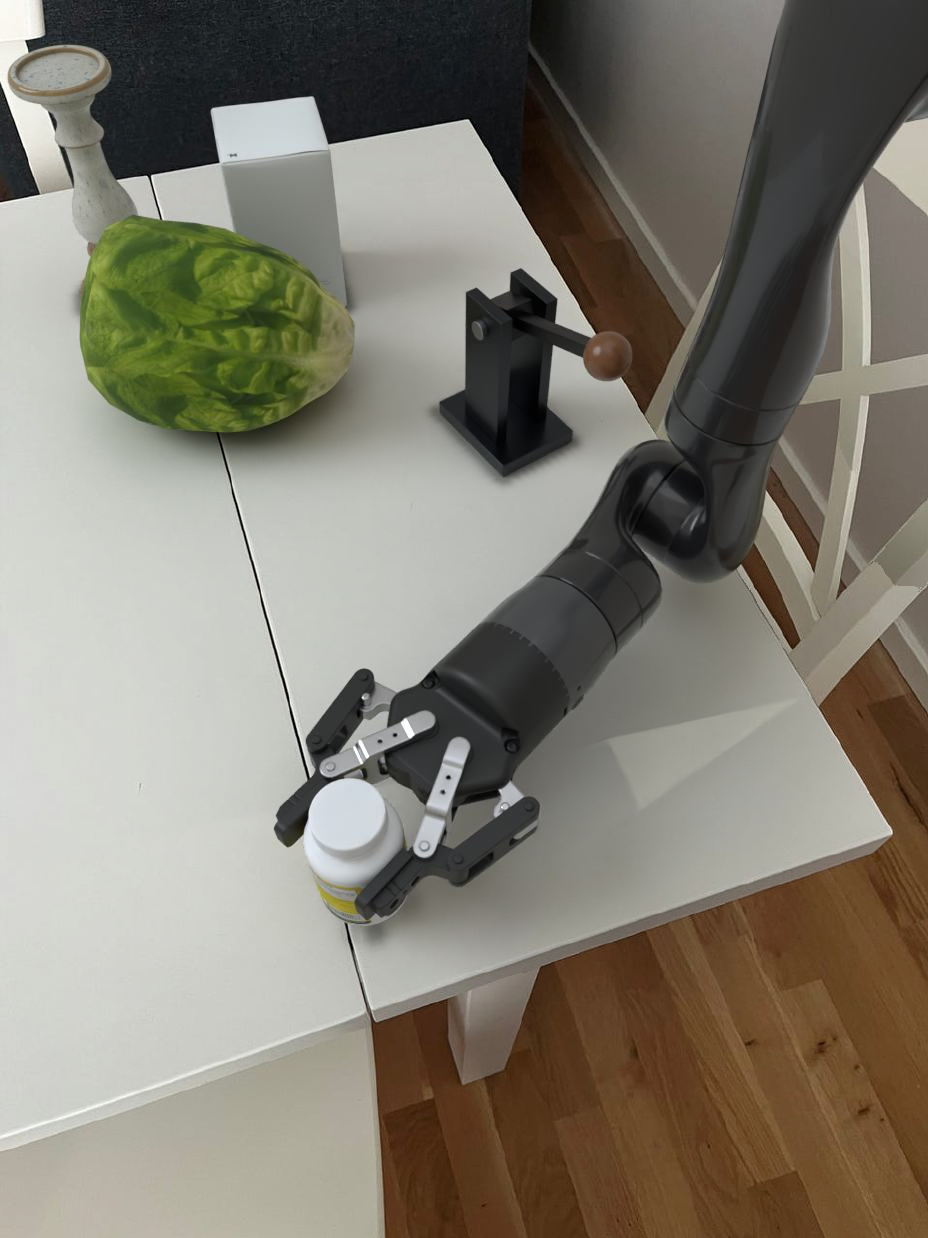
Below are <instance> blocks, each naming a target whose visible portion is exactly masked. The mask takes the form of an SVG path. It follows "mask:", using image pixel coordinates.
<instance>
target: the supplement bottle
mask: <svg viewBox="0 0 928 1238" xmlns="http://www.w3.org/2000/svg"><path fill="white" fill-rule="evenodd" d="M401 819H402V818H401V817H400V815H399V813H398V811H397V810H396V808H395V806H394V805H393V804H392V803H391V802H390V801H389V800H388V799H386V798H385V797H383V795H382V793H381V792H380V791H379V789H377V787H375V786H374V784H370V783H368V782H366V781H363V780H360V779H353V778H347V779H340V780H337V781H334V782H332V783H330V784H328V785H326V786H325V787H324V788H322V789H321V790H320V791H319V792H318V794H317V795H316V796H315V798H314V799H313V801H312V803H311V806H310V809H309V817H308V821H307V823H306V826H305V829H304V835H303V836H302V845H303V852H304V855H305V858H306V861H307V864H308V866H309V868H310V871H311V874H312V877H313V879H314V882H315V884H316V887H317V890H318V893H319V895H320V897H321V899H322V901H323V903H324V905H325V907H326V909H328V912H330V913H331V914H332V915H333V916H334V917H335V918H337V919H338V920H340V922H341V921H342V922H343V923H345V924H348V925H352V926H357V927H369V926H375V925H378V924H380V923H383V922H385V921H387V920H389V919H390V918H392V917H393V916H394V915H395V914H396V913H398V911H400V909H401V908H402V907H403V905H404V904H405V902H406V901H407V898H408V896H409V894H408V895H407V896H406V897H405V898H404V899H403V900H402V901H401V902H400V904H398V906H397V907H396V908H395V909H394V910H393V911H392V912H391V913H390V914H388V915H386V916H384V917H382V918H380V917H379V916H378V915H377V914H375V915H374V916H373V917H372V918H370V919H369V920H365V919H364V918H363V917H362V916H361V915H360V914H359V913H358V912H357V911H356V908H355V905H354V901H355V899H356V897H357V896H358V894H359V893H360V892H361V891H362V890H363V889H364V888H365V887H366V886H367V885H368V884H369V883H370V882H371V881H372V880H373V879H374V878H375V876H376V875H377V874H378V873H379V872H380V871H381V870H382V869H383V868H384V867H385V866H386V865H387V864H388V863H389V862H390V861H391V860H392V859H393V858H394V857H395V855H396V854H397V853H398V852H399V851H400V850H401V849H402V848H403V847H404V848H405V849H406V850H407V851H408V848H407V842H406V836H405V829H404V826H403V822H402V820H401Z"/></svg>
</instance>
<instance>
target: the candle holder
mask: <svg viewBox="0 0 928 1238" xmlns="http://www.w3.org/2000/svg"><path fill="white" fill-rule="evenodd" d="M112 75H113V70H112V67H111V63H110V62H109V60H108V59H107V57H106V56H105V55H104V54H103V53H102V52H100V50H97V49H95V48H93V47H89V46H85V45H78V44H58V45H50V46H45V47H42V48H37V49H35V50H31V51H30V52H27V53H25V54H23V55H21V56H19V58H17V59H15V60H14V61H13V62H12V63H11V65H10V67H8V71H7V84H8V87H9V90H10V91H11V92H12V93H13V95H14V96H15V97H17V98H19V99H20V100H22V101H25V102H27V103H32V104H35V105H36V104H37V105H40V107H41V108H43V109H44V110H45V111H47V112H49V113H50V114H51V115H53V117H54V119H55V120H56V128H55V132H54V135H53V136H54V141H55V143H56V144H57V145H58V146H60V147H62V148H63V149H64V150H65V152H66V154H67V157H68V162H69V165H70V168H71V172H72V176H73V177H72V178H73V193H72V198H71V199H72V200H71V218H72V223H73V226H74V228H75V230H76V231H77V233H78V234H79V235H80V236H81V237H82V238H83V239H84V240H85V241H87V242H88V243H87V246H86V251H87V252H86V253H87V254H88V257H89V258H90V257H91V255H92V253H93V251H94V249H95V247H96V246H97V244H98V242H99V240H100V238H101V236H102V234H103V232H104V230H105V228H106V227H108V226H110V225H112V224H114V223H117V222H119V221H121V220H123V219H125V218H127V217H129V216H131V215H138V216H139V211H138V207H137V206H136V203H135V202H134V200H133V198H132V197H131V195H130V193H128V191H126V189H125V188H124V187H123V186H122V185H121V184H120V183H119V181H118V180H117V179H116V177H115V176H114V174H113V173H112V171H111V169H110V167H109V165H108V162H107V160H106V157H105V154H104V151H103V148H102V143H101V140H102V139H103V138H104V135H105V130H104V128H103V127H102V125H100V124H99V123H98V122H97V121H96V120H95V119H94V118H93V116H92V114H91V106H92V104H93V102H94V101H95V98H96V94H98V93H99V92H101V91H103V90H104V89H105V88H106V87H108V84H109V83H110V82H111V80H112ZM84 281H85V278H84V279H83V280H82V281H81V284H80V286H79V289H78V296H79V300H80V301H81V297H82V292H83V286H84Z"/></svg>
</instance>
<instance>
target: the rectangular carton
mask: <svg viewBox="0 0 928 1238" xmlns="http://www.w3.org/2000/svg"><path fill="white" fill-rule="evenodd" d="M210 115H211V121H212V127H213V132H214V138H215V144H216V150H217V157H218V161H219V167H220V172H221V178H222V181H223V182H222V183H223V186H224V192H225V196H226V200H227V207H228V211H229V216H230V222H231V226H232V232H234V233H236V234H239V235H241V236H243V237H245V238H248V239H250V240H252V241H255V242H257V243H260V244H263V245H266V246H268V247H271V248H274V249H276V250H278V251H280V252H282V253H284V254H286V255H288V256H290V257H292V258H294V259H295V260H296V261H298V262H299V263H300V264H302V265H303V266H304V267H306V268H307V269H308V270H310V271H311V272H312V274H313V275H314V276H315V277H316V278H317V280H318V281H319V282H320V283H321V284H322V286H323V287H324V288H325V289H326V290H328V291H329V292H330V293H331V294H332V295H333V296H335V297H336V298H337V299H338V300H339V301H340V302H341V303H342V304H343V305H344V307H345V308H346V307H347V306H348V299H347V291H346V281H345V274H344V265H343V264H344V263H343V256H342V255H343V254H342V246H341V236H340V227H339V218H338V209H337V199H336V189H335V180H334V171H333V162H332V154H331V149H330V145H329V142H328V139H327V136H326V132H325V129H324V126H323V122H322V119H321V116H320V112H319V109H318V106H317V103H316V100H315V97H314V96H303V97H301V96H300V97H293V98H285V99H279V100H272V101H271V100H270V101H263V102H255V103H254V102H253V103H243V104H242V103H241V104H234V105H225V106H217V107H212V108H211V110H210Z"/></svg>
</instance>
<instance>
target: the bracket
mask: <svg viewBox="0 0 928 1238" xmlns="http://www.w3.org/2000/svg"><path fill="white" fill-rule="evenodd" d="M509 274H510V276H509V291H511V292H514V293H516V294H519V295H521V296H524V297H526V298H529V299H531V300H532V308H533V314H534V315H536V316H539V317H541V318H543V319H546V320H548V321H551V322H553V323H556V320H557V311H558V301H559V299H558V297H557V296H555V295H554V294H553V293H552V292H551V291H549V290H548V289H547V288H546V287H545V286H544V285H542V284H541V283H540V282H539V281H537V280H536V279H535V278H534V277H532V276H531V275H530V274H529V273H528V272H527V271H525V270H524V269H523V268H522V267H520V268H517V269H516V270H513V271H511V272H510V273H509ZM490 299H491V298H490V297H489V296H487V295H486V294H485V293H484V292H483V291H481V290H480V289H479V288H478V287H476V286H475V287H474V288H472V289H469V290H467V291H465V336H464V337H465V349H464V350H465V352H464V353H465V354H464V355H465V356H464V357H465V358H464V360H465V361H464V363H465V364H464V365H465V367H464V370H465V371H464V389H463V390H460V391H458V392H456V393H454V394H452V395H450V396H447V397H445V398H443V399H441V400H439V402H438V409H439V413H440V414H441V415H442V416H443V418H445V419H446V421H448V423H449V424H450V425H451V426H452V427H453V428H454V429H456V431H457V432H458V433H459V434H460V435H461V436H462V437H463V438H464V439H465V440H466V441H467V442H468V443H469V444H470V445H471V446H472V447H473V448H474V449H475V450H476V451H477V452H478V453H479V454H480V455H481V456H482V457H483V459H485V460H486V462H488V463H489V464H490V466H492V467H493V469H495V470H496V472H497V473H498V474H499V475H500V476H501V477H505V476H508V475H509V474H511V473H513V472H515V471H517V470H519V469H521V468H523V467H525V466H527V465H529V464H531V463H533V462H535V461H537V460H538V459H540V458H542V457H544V456H546V455H548V454H550V453H552V452H554V451H556V450H557V449H560V448H562V447H563V446H565V445H568V444H570V443H572V441H573V437H574V436H573V435H574V430H573V429H572V428H571V427H570V426H569V425H568V424H566V422H564V420H562V419H561V418H560V417H559V416H558V415H557V414H556V413H555V412H554V411H553V410H551V408H549V406H548V402H549V393H550V391H549V390H550V381H551V373H552V362H553V352H554V345H552V344H549V343H547V342H545V341H542V340H540V339H538V338H535V337H533V336H531V335H528V334H527V335H525V336H523V337H520V338H518V339H516V340H514V341H511V339H512V321H513V320H512V318H511V317H510V316H508V315H507V314H506V313H505V312H504V311H503V310H502V309H501V308H499V307H498V306H497V305H496V304H495V303H494V302H493V301H492V300H490Z"/></svg>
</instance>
